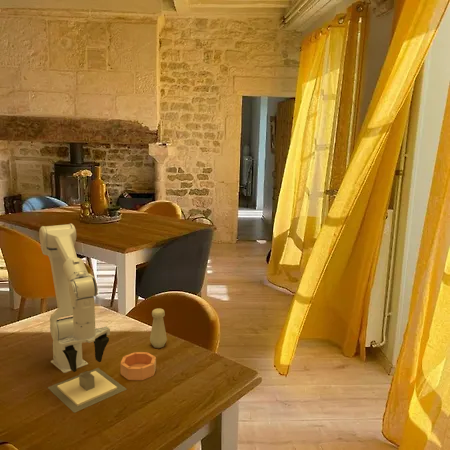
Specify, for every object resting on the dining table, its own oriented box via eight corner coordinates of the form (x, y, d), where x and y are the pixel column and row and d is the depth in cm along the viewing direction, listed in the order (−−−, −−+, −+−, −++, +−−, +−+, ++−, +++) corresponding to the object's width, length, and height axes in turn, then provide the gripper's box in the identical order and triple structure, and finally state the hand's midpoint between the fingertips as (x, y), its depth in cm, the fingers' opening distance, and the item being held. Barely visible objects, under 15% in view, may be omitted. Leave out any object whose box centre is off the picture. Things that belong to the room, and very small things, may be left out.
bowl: (115, 371, 139) (114, 359, 138) (142, 360, 146) (142, 349, 145) (134, 385, 132) (133, 372, 131) (161, 372, 139) (161, 360, 138)
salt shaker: (163, 350, 153) (163, 314, 150) (147, 348, 154) (147, 312, 151) (169, 342, 158) (169, 307, 155) (153, 340, 159) (153, 305, 157)
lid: (57, 387, 129) (56, 374, 128) (95, 372, 137) (95, 360, 136) (77, 406, 120) (76, 392, 120) (117, 389, 129) (116, 375, 128)
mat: (47, 388, 129) (47, 387, 129) (98, 368, 140) (98, 367, 140) (74, 414, 118) (74, 412, 118) (127, 390, 129) (127, 389, 129)
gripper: (65, 332, 117) (68, 380, 119) (115, 317, 127) (116, 361, 130) (53, 323, 121) (56, 370, 124) (102, 309, 132) (103, 352, 134)
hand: (86, 365), depth 127 cm, fingers open, 7 cm apart
